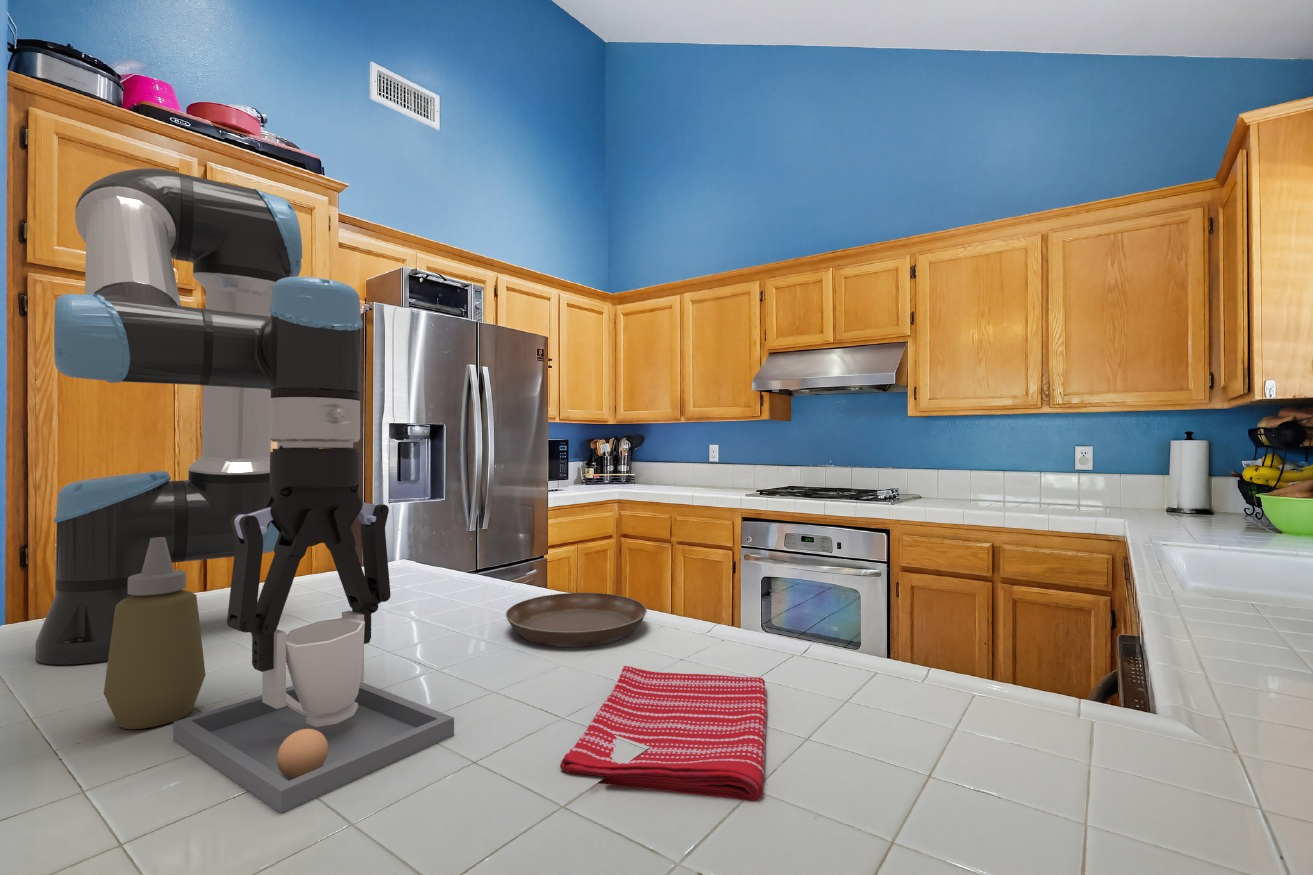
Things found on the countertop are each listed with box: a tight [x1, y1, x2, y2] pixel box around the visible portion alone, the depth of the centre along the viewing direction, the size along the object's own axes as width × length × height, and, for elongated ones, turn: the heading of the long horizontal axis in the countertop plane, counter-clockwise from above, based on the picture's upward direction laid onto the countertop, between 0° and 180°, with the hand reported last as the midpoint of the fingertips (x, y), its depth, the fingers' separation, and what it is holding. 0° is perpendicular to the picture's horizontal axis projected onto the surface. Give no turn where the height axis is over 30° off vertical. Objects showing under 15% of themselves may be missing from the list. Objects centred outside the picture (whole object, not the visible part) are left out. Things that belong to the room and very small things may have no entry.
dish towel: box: [559, 665, 768, 802], centre depth 61 cm, size 17×24×3 cm
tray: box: [172, 681, 455, 815], centre depth 58 cm, size 20×15×2 cm
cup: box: [286, 617, 365, 727], centre depth 59 cm, size 7×10×8 cm
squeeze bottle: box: [103, 537, 206, 730], centre depth 64 cm, size 8×8×18 cm
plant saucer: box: [505, 592, 648, 648], centre depth 94 cm, size 21×21×3 cm
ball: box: [277, 729, 328, 779], centre depth 51 cm, size 4×4×4 cm
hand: (315, 690), depth 59 cm, fingers closed on cup, 7 cm apart
